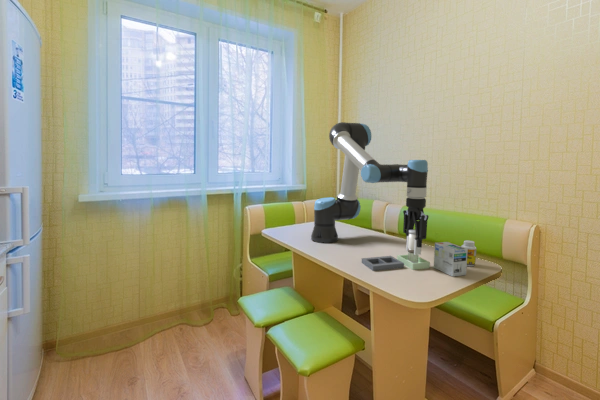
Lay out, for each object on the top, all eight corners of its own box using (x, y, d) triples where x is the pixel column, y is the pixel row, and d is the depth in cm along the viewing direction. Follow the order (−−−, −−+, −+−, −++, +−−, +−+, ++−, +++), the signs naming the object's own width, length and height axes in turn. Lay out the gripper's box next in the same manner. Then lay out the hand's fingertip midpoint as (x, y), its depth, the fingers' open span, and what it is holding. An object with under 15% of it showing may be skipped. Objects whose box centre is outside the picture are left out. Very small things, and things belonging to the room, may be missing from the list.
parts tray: (396, 262, 129) (397, 255, 129) (412, 260, 131) (413, 254, 131) (412, 270, 119) (412, 263, 118) (429, 269, 121) (429, 262, 120)
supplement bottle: (457, 264, 126) (459, 241, 125) (463, 261, 130) (464, 238, 129) (472, 267, 122) (474, 243, 121) (477, 264, 126) (478, 241, 124)
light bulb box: (466, 275, 114) (468, 248, 113) (452, 277, 112) (454, 249, 111) (445, 266, 124) (447, 241, 123) (432, 267, 123) (434, 242, 121)
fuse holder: (361, 263, 127) (361, 258, 127) (390, 260, 131) (390, 255, 130) (372, 272, 118) (373, 266, 117) (403, 268, 121) (404, 263, 121)
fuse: (405, 261, 126) (406, 229, 125) (414, 260, 128) (415, 229, 126) (411, 265, 122) (413, 232, 120) (420, 264, 123) (422, 231, 122)
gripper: (395, 195, 129) (393, 247, 132) (422, 200, 112) (419, 260, 115) (410, 195, 131) (408, 246, 134) (439, 199, 114) (435, 258, 117)
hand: (413, 252), depth 124 cm, fingers open, 5 cm apart
